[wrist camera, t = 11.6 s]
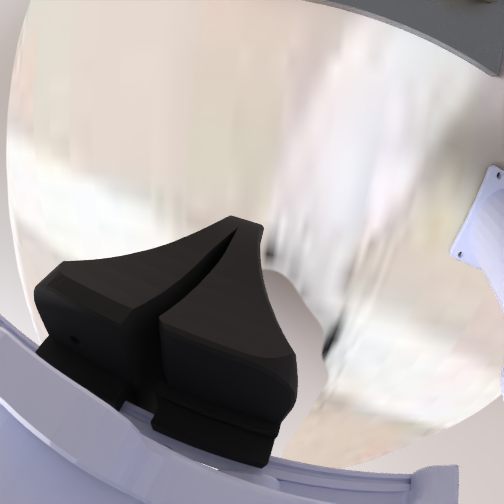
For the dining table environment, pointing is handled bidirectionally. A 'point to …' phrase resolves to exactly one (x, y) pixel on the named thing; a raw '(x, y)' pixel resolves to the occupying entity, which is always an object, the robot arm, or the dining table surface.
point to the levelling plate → (443, 24)
